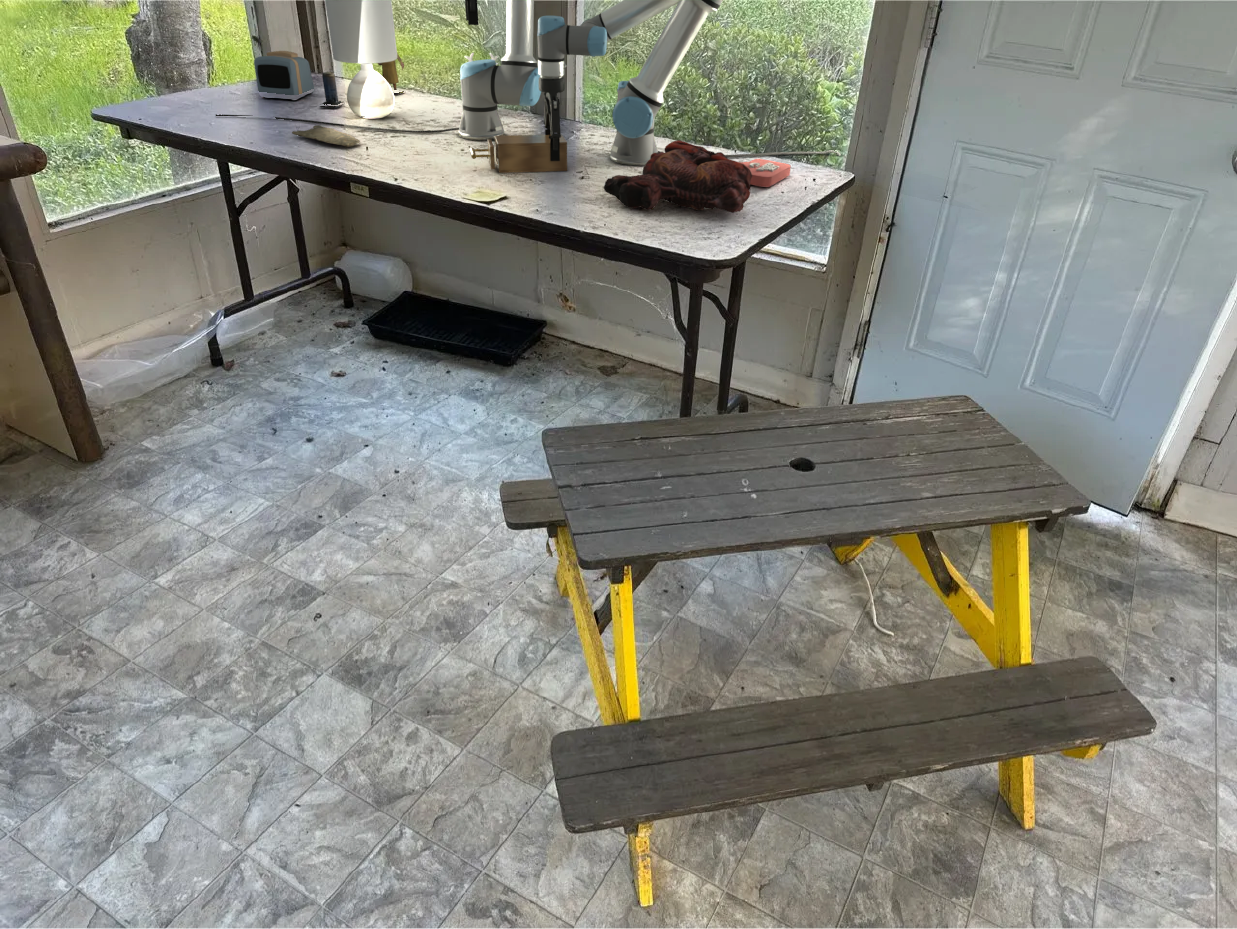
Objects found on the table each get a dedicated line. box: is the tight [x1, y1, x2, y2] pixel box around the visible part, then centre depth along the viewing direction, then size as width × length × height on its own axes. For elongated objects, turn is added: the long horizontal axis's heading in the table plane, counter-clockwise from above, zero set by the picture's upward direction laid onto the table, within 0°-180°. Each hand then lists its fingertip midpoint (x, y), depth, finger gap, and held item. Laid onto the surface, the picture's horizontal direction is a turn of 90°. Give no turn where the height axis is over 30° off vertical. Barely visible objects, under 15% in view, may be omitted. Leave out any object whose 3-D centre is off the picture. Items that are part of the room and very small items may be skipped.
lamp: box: [324, 0, 398, 120], centre depth 295 cm, size 22×22×40 cm
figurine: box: [377, 52, 405, 96], centre depth 332 cm, size 11×9×30 cm
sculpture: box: [603, 139, 752, 214], centre depth 228 cm, size 43×30×13 cm
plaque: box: [739, 158, 792, 188], centre depth 254 cm, size 18×4×15 cm
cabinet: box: [494, 133, 568, 174], centre depth 255 cm, size 20×10×8 cm, turn 102°
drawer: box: [469, 139, 499, 170], centre depth 254 cm, size 25×9×6 cm, turn 102°
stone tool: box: [291, 124, 361, 147], centre depth 276 cm, size 11×3×25 cm
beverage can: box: [319, 71, 345, 110], centre depth 314 cm, size 9×8×12 cm
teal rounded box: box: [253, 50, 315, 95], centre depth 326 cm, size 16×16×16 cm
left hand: (472, 22), depth 233 cm, fingers open, 8 cm apart
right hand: (552, 155), depth 257 cm, fingers closed on cabinet, 10 cm apart
